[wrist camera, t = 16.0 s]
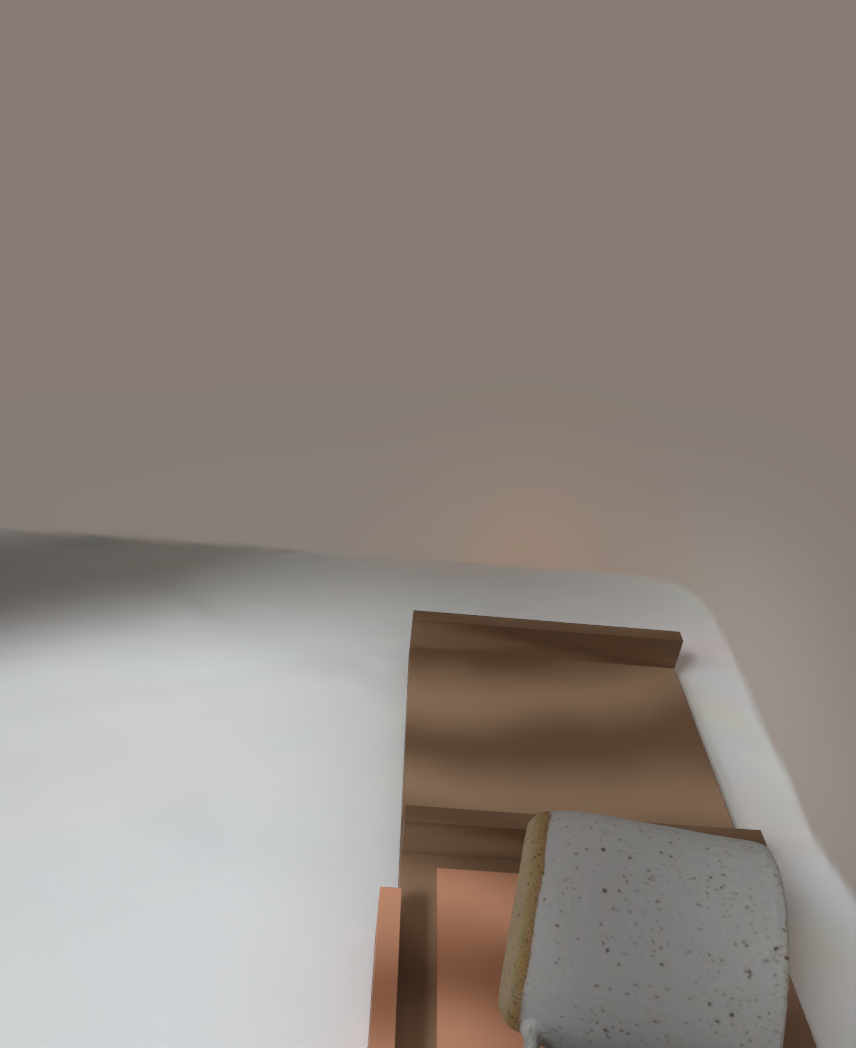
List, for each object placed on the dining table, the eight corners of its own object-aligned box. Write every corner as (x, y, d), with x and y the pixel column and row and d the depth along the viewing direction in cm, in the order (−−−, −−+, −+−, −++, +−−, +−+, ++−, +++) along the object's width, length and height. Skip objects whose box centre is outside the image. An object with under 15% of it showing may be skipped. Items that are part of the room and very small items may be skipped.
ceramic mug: (506, 912, 32) (539, 747, 30) (718, 969, 31) (772, 802, 28) (459, 1199, 22) (504, 988, 20) (769, 1300, 21) (858, 1089, 18)
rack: (394, 653, 47) (399, 608, 45) (665, 674, 47) (679, 631, 46) (266, 2507, 12) (263, 2614, 10) (1318, 2497, 12) (1479, 2595, 11)
